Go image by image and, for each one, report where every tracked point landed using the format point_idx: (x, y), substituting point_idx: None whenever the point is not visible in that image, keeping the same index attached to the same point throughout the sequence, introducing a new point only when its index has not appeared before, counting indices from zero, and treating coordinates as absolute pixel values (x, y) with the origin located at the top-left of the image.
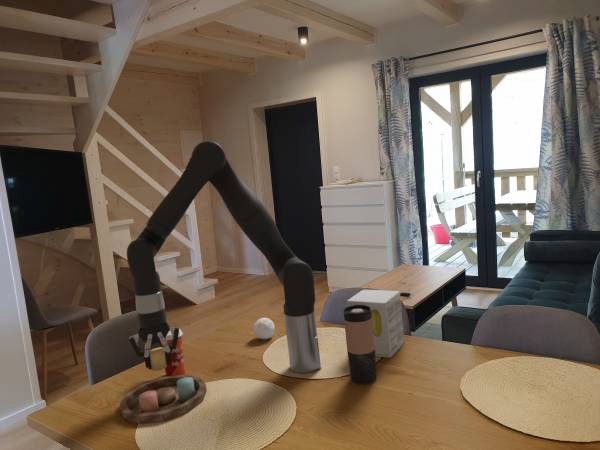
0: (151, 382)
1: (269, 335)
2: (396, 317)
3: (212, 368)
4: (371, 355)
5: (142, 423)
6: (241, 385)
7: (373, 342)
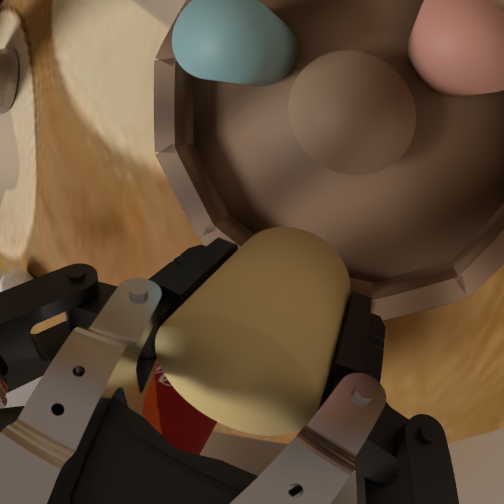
0: None
1: (19, 270)
2: None
3: (124, 254)
4: None
5: None
6: (93, 61)
7: None
